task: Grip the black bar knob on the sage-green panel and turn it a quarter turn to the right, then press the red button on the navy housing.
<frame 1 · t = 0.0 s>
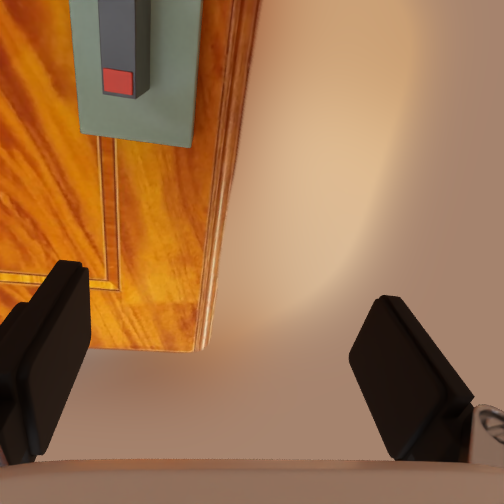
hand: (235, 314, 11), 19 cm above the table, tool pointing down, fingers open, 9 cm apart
panel: (146, 35, 22), on the table
knob: (127, 33, 17), point 6 cm above the table, hinge at 0.0°
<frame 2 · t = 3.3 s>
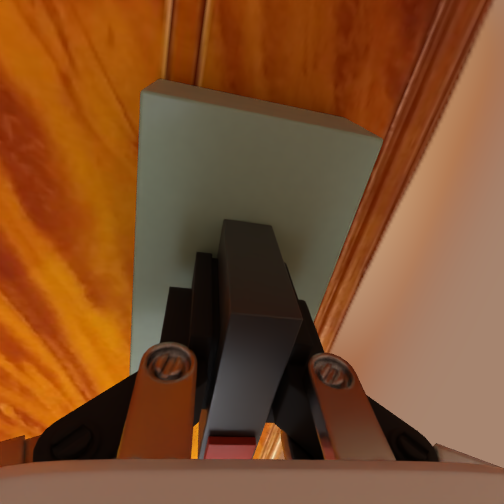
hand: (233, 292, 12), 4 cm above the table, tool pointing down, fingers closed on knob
panel: (229, 241, 15), on the table
knob: (237, 337, 10), point 6 cm above the table, hinge at 0.0°, touching gripper
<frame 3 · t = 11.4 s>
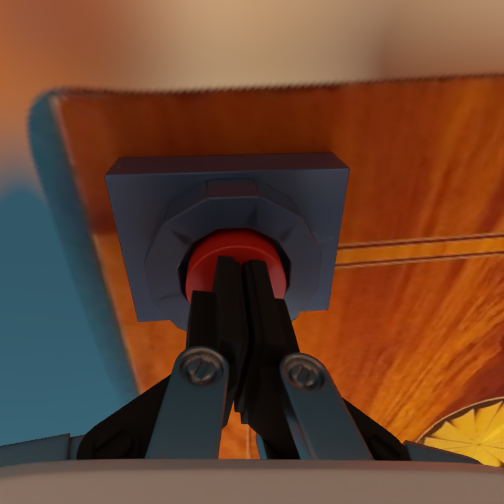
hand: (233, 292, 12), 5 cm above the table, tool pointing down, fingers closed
button: (235, 275, 13), point 4 cm above the table, slide at -0.5 cm, touching gripper
button box: (230, 228, 16), on the table
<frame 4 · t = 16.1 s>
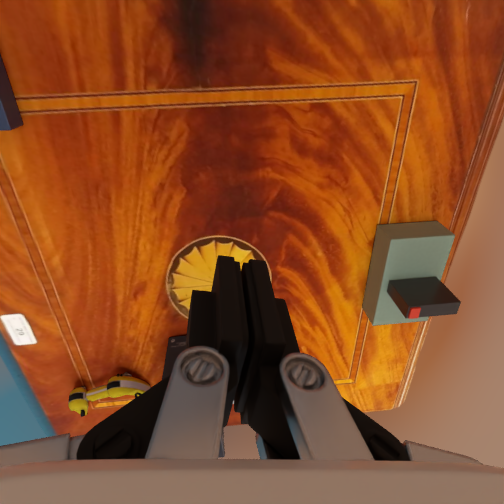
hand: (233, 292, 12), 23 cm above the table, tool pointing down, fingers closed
panel: (396, 266, 42), on the table
knob: (422, 297, 37), point 6 cm above the table, hinge at -89.9°
small box: (196, 360, 47), on the table
yellow hair dryer: (109, 383, 48), on the table
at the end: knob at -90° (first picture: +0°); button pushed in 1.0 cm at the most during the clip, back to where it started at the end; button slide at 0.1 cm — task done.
